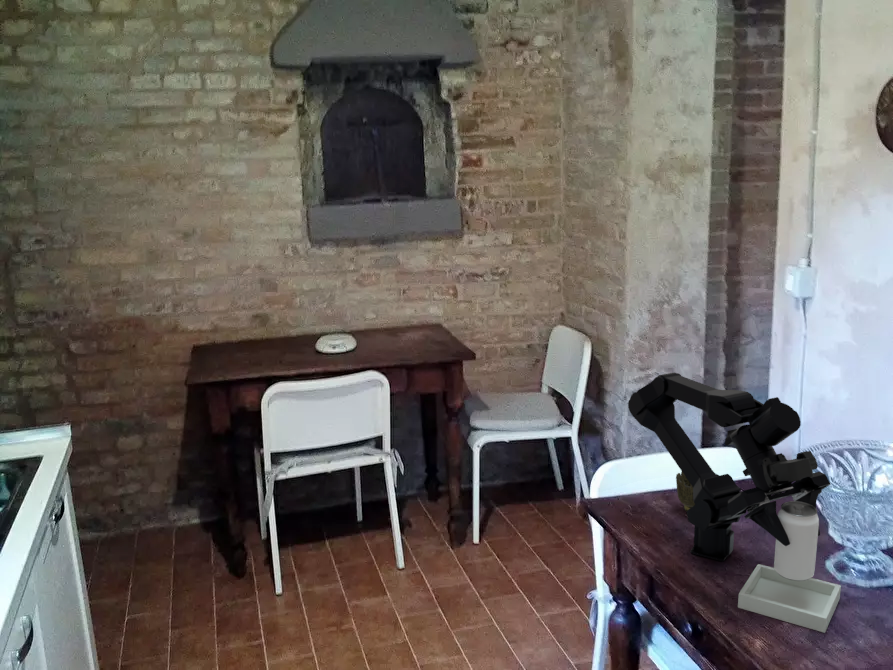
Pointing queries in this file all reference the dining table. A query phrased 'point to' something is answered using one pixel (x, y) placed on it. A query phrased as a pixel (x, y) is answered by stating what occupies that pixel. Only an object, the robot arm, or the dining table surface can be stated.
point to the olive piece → (684, 491)
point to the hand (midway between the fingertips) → (802, 540)
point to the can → (797, 541)
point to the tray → (790, 598)
